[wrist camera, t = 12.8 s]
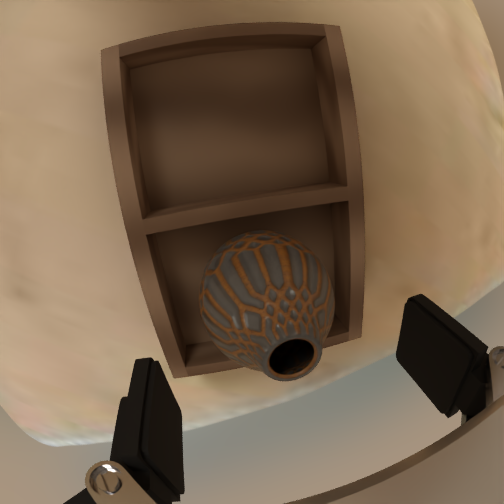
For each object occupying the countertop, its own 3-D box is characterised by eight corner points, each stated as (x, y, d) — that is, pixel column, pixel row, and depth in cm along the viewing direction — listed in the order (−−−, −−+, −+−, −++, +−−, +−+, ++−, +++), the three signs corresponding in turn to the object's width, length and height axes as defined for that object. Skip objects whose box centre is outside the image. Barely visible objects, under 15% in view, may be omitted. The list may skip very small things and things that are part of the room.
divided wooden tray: (119, 69, 14) (100, 50, 11) (314, 46, 16) (339, 26, 12) (176, 343, 21) (173, 378, 17) (338, 310, 23) (361, 337, 19)
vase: (199, 320, 19) (204, 422, 11) (199, 217, 17) (197, 277, 9) (298, 316, 20) (350, 404, 12) (311, 220, 18) (390, 273, 10)
